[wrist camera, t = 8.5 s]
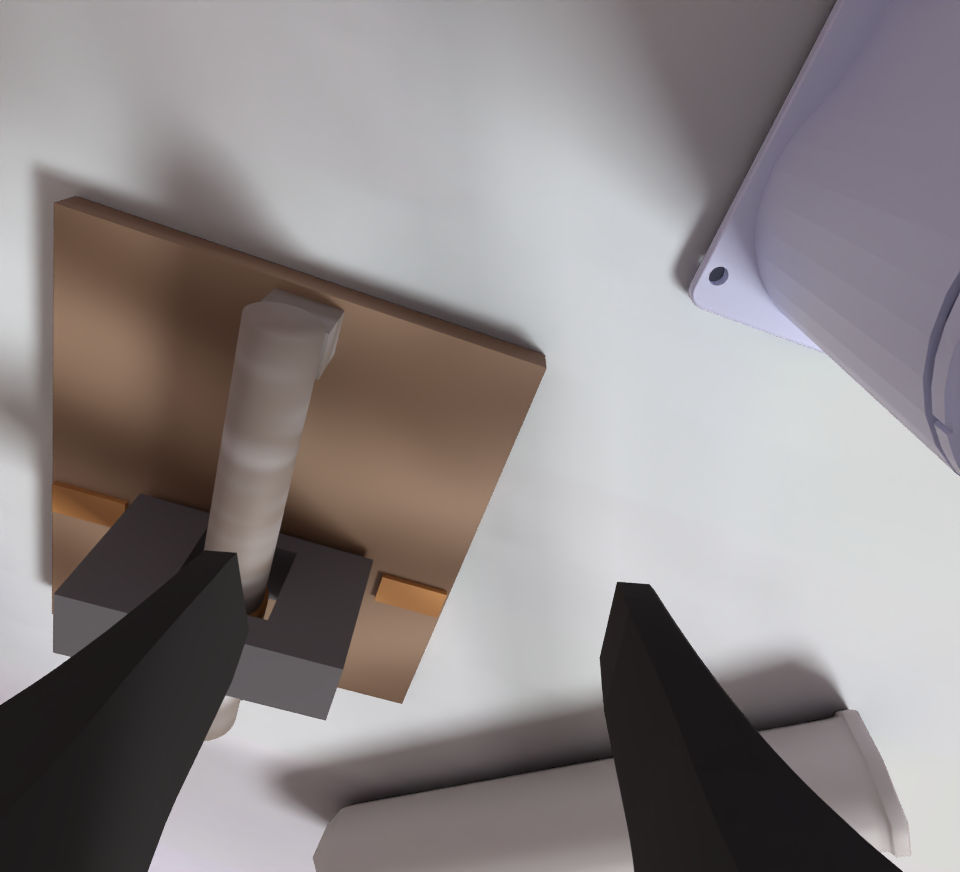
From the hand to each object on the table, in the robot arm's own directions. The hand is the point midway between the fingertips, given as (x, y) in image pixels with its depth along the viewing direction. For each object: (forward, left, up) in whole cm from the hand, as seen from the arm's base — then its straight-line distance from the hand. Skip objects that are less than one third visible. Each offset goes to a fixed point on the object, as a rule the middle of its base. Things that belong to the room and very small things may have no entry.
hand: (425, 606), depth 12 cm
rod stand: (+6, -5, -9) cm, 12 cm away
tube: (+17, +11, -10) cm, 23 cm away
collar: (+8, -5, -8) cm, 12 cm away
